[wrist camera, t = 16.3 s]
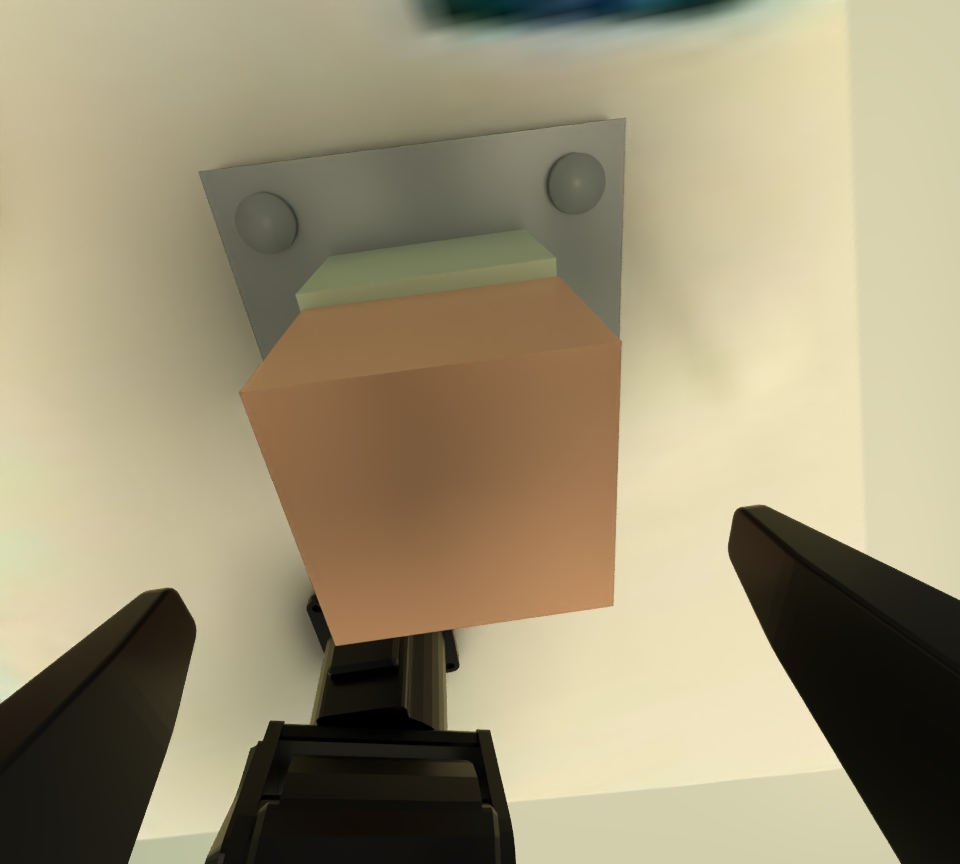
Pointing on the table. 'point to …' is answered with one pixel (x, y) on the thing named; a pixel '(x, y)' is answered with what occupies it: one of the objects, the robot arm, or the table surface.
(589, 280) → the baseplate
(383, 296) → the sage brick
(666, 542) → the table surface
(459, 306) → the terracotta brick
